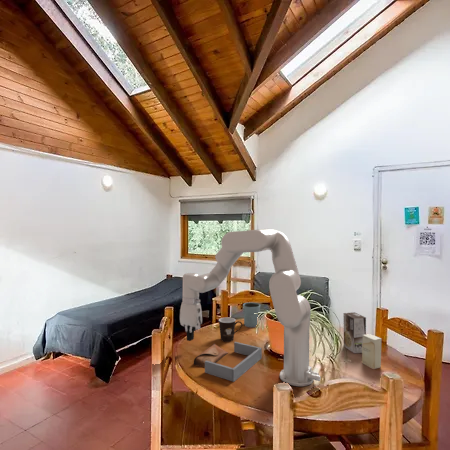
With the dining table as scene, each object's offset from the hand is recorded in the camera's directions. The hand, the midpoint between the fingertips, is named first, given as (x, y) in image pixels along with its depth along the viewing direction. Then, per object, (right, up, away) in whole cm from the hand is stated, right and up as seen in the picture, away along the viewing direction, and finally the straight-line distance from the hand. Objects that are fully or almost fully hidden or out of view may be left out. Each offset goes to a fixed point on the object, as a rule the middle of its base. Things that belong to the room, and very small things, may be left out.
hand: (190, 339), depth 142 cm
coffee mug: (+19, -6, +15) cm, 25 cm away
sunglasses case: (+10, -7, -6) cm, 14 cm away
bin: (+20, -6, -12) cm, 24 cm away
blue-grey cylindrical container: (+32, -6, +38) cm, 50 cm away
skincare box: (+77, -6, -13) cm, 79 cm away
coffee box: (+77, -6, +3) cm, 77 cm away
